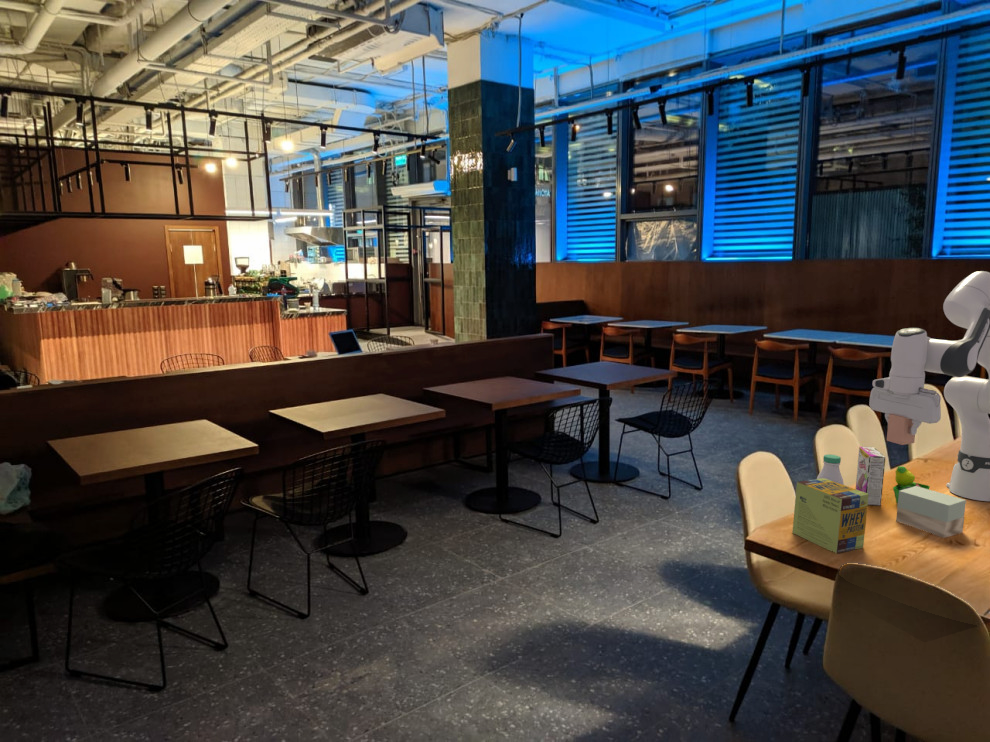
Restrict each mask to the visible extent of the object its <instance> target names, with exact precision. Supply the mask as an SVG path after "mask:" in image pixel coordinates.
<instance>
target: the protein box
mask: <svg viewBox="0 0 990 742" xmlns="http://www.w3.org/2000/svg"><path fill="white" fill-rule="evenodd" d="M868 495H869V494H868V493H865V492H862V491H859V490H856V488H853V487H850V486H847V485H845V484H844V485H842V484H839V483H836V482H833V481H831V480H828V479H825V478H821V479H817V478H816V479H807V480H803V481H797V482H796V488H795V499H794V501H795V502H794V508H793V509H794V510H793V522H792V530H791V531H792V534H794V535H796V536H799V537H800V538H802V539H805V540H806V541H809V542H811V543H813V544H815V545H817V546H820V547H821V548H824V549H825V548H826V549H825V550H828V551H830V552H832V551H833V552H832V553H834V552H835V553H834V554H836V553H837V554H840V552H841V553H844V552H849V551H853V550H854V551H855V550H858V549H863V548H864V544H865V533H866V523H867V522H866V521H867V515H868V514H867V512H868V506H869V505H868Z"/></svg>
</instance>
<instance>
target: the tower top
mask: <svg viewBox="0 0 990 742" xmlns="http://www.w3.org/2000/svg"><path fill="white" fill-rule="evenodd" d="M966 503H967V499H963V498H960V497H957V496H953V495H949V494H947V493H946V494H945V493H942V492H939V491H935V490H931V489H930V488H929V489H925V488H922V487H918V486H914V487H911V488H907V489H904V490H900V491H899V496H898V503H897V506H896V507H897V508H898V507H900V508H903V509H906V510H909V511H912V512H915V513H919V514H922V515H925V516H928V517H931V518H934V519H938V520H941V521H944V522H950V521H953V520H956V519H959V518H962V517H964V518H965V511H966Z"/></svg>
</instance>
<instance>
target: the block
mask: <svg viewBox="0 0 990 742" xmlns="http://www.w3.org/2000/svg"><path fill="white" fill-rule="evenodd" d="M913 424H914V423H912V419H908V418H906V417H902V416H898V415H894V414H889V420H888V422H887V431H886V432H887V434H886V441H887V442H891V443H894V444H898V445H902V446H905V445H911V444H915V442H916V441H915V440H916V434H915V435H912V434H908V428H911V427H912V426H913Z"/></svg>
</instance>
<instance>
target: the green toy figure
mask: <svg viewBox="0 0 990 742" xmlns="http://www.w3.org/2000/svg"><path fill="white" fill-rule="evenodd" d="M915 479H916V477H915V474H913V473H912V472H911V471H910V470H908V468H907V467H906V466H904V465H902V466H900V465H899V466H897V468H896V470H895V479H894V480H895V482H896V483H897V485H895V486H892V491H893V493H894V497H895V502H896V504H898V496H899V491H900V490H904V489H907V488H911V487H914V486H918V487H922V488H925V489H929V490H930V485H928V484H927V485H926V484H923V483H918V482H916V481H915Z"/></svg>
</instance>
